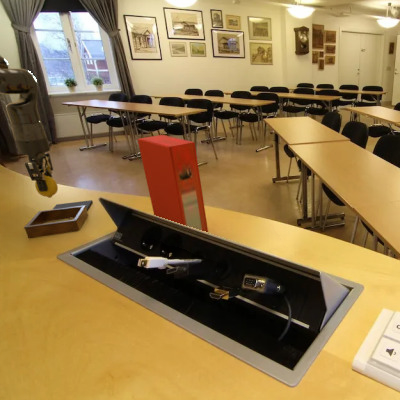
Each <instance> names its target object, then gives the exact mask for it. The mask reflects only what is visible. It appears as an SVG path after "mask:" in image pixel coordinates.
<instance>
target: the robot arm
mask: <svg viewBox="0 0 400 400" xmlns="http://www.w3.org/2000/svg"><path fill="white" fill-rule="evenodd" d="M38 89H39V87H38V82H37V79H36V77H35V76H34V75H33V73H31V71H29V70H27V69H25V68H9V63H8V61H7V60H6V59H5V58H4V57H3V56H2V55H1V54H0V94H2V95H18V94H19V95H18V99H17V100H16V101H12V102H10V103H8V104H6V105H5V110H6V112H7V116H8V119H9V121H10V125H11V131H12V134H13V138H14V140H15V142H16V146H17V149H18V151H19V153H20V154H21V155H26V156H27V157H28V160H27V162H25V163H24V166H25V168H26V171H27V173H28V176H29V177H30V180H31V182H33V181H35V182H36V183H37V186H38V189H39V191H40V192H43V191H47V190H48V187H47V184H46V180H45V176H49V177H52V178H53V175H52V174H53V171H54V167H53V163H52V158H51V154H50V151H51V146H50V143H49V140H48V136H47V133H46V130H45V127H44V125H43V123H42V121H41V117H40V114H39V111H38ZM44 175H45V176H44Z"/></svg>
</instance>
